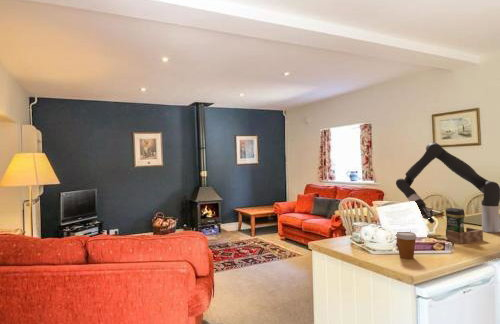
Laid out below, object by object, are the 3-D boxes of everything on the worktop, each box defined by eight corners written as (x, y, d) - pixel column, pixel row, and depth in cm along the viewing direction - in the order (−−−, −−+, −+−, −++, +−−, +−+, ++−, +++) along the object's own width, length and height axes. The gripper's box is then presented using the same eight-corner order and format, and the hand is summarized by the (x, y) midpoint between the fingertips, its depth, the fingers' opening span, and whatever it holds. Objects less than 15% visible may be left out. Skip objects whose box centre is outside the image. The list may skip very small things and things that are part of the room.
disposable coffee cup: (416, 261, 155) (415, 236, 155) (394, 258, 160) (394, 234, 160) (417, 256, 164) (417, 232, 163) (397, 253, 169) (397, 230, 169)
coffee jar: (443, 237, 199) (442, 207, 199) (451, 236, 203) (450, 206, 203) (459, 241, 191) (459, 209, 191) (467, 239, 194) (466, 208, 194)
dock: (468, 237, 199) (467, 227, 199) (482, 240, 191) (482, 230, 191) (447, 240, 193) (446, 230, 193) (461, 243, 184) (461, 233, 184)
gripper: (412, 199, 218) (429, 220, 206) (426, 197, 223) (443, 218, 211) (406, 205, 223) (422, 226, 211) (420, 204, 228) (436, 225, 216)
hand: (432, 222), depth 211 cm, fingers closed
